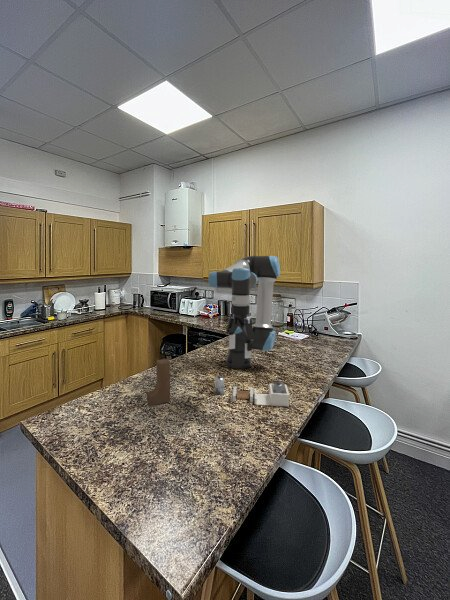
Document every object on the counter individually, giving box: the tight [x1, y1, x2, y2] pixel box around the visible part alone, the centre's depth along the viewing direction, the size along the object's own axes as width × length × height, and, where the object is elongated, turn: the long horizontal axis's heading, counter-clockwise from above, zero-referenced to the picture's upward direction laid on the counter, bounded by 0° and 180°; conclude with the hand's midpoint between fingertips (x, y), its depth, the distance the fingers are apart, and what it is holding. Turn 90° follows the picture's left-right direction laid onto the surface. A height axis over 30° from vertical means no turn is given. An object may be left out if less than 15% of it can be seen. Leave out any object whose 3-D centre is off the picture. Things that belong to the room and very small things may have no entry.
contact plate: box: [236, 390, 250, 400], centre depth 123 cm, size 3×5×2 cm, turn 85°
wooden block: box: [146, 358, 171, 407], centre depth 120 cm, size 9×4×18 cm, turn 121°
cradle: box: [232, 386, 254, 403], centre depth 123 cm, size 9×9×4 cm
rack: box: [253, 383, 290, 407], centre depth 121 cm, size 10×14×6 cm
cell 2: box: [273, 380, 285, 394], centre depth 120 cm, size 4×4×8 cm
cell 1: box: [214, 374, 226, 396], centre depth 130 cm, size 4×4×8 cm
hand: (239, 353), depth 122 cm, fingers open, 13 cm apart
